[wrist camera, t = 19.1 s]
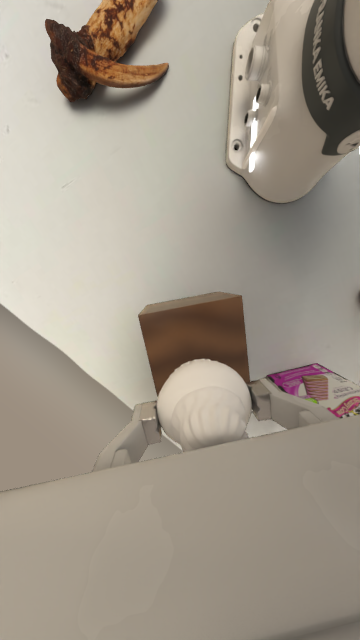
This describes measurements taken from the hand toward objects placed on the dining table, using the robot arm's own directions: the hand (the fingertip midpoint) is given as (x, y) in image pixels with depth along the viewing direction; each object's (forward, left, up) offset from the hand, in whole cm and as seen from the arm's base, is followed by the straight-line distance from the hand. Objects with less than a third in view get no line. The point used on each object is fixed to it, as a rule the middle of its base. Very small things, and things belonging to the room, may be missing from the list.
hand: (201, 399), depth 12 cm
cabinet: (+2, +2, -20) cm, 20 cm away
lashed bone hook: (-38, -1, -20) cm, 43 cm away
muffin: (0, 0, -3) cm, 3 cm away
